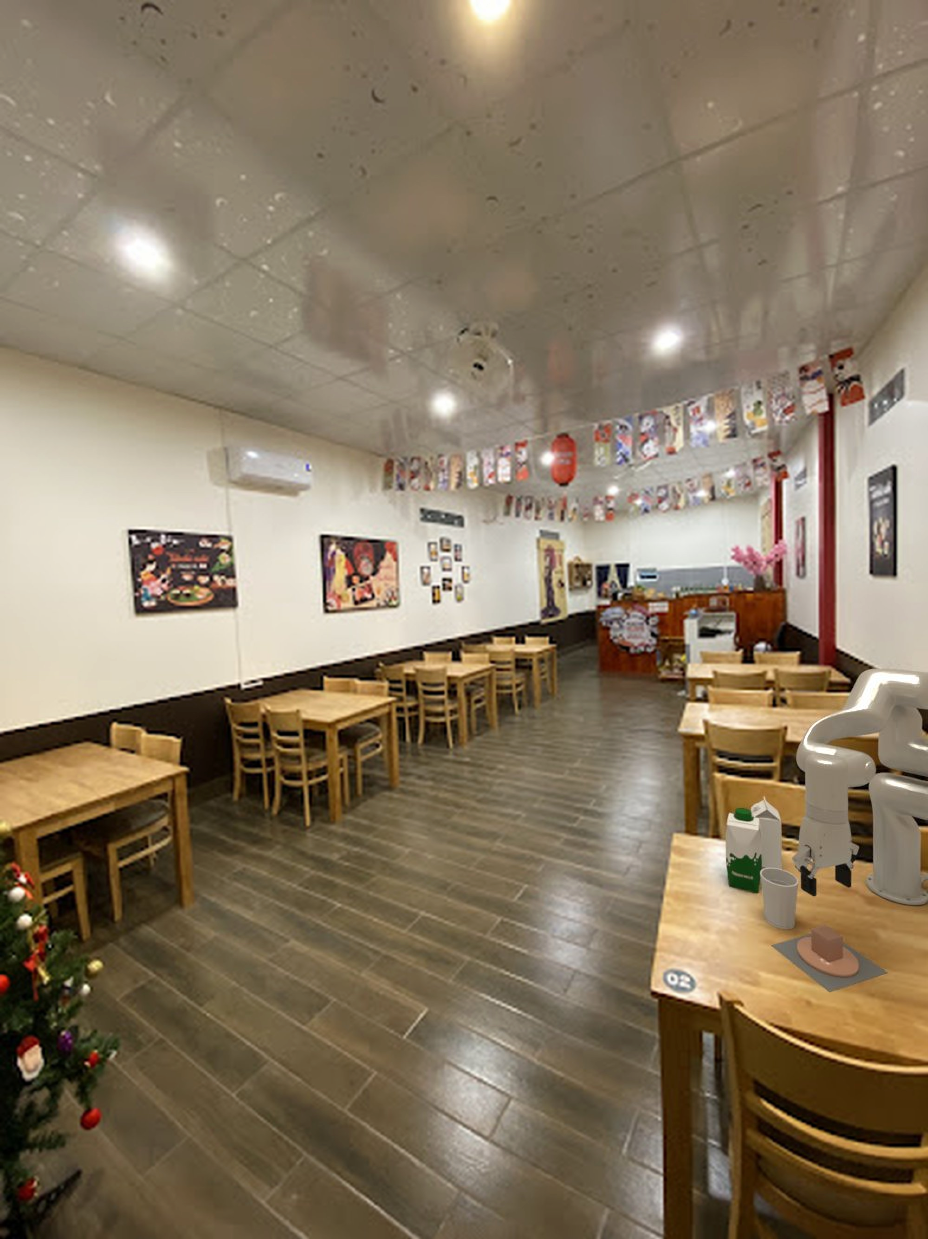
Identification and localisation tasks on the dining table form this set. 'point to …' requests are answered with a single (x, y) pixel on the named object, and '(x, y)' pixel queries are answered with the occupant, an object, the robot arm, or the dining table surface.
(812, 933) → the lid
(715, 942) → the dining table surface
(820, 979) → the mat
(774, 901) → the cup
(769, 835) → the milk carton
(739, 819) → the soya milk
